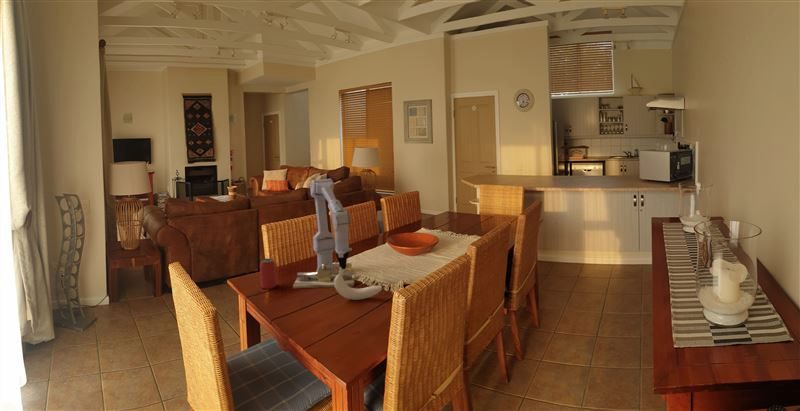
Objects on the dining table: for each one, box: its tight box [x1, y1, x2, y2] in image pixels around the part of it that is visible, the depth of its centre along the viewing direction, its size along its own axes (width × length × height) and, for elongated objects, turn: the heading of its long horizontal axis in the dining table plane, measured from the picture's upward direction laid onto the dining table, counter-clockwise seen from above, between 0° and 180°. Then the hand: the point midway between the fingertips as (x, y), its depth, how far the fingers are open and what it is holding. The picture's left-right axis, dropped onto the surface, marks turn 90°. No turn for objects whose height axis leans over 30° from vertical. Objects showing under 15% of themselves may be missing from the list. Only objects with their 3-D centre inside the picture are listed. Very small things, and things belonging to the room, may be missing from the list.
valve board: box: [292, 273, 356, 289], centre depth 213 cm, size 14×26×1 cm, turn 92°
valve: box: [296, 267, 353, 282], centre depth 213 cm, size 5×24×6 cm, turn 92°
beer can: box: [259, 258, 278, 290], centre depth 208 cm, size 7×7×12 cm
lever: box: [322, 262, 353, 269], centre depth 212 cm, size 13×2×2 cm, turn 88°
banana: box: [334, 267, 383, 301], centre depth 191 cm, size 5×19×15 cm, turn 100°
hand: (343, 268), depth 210 cm, fingers closed
